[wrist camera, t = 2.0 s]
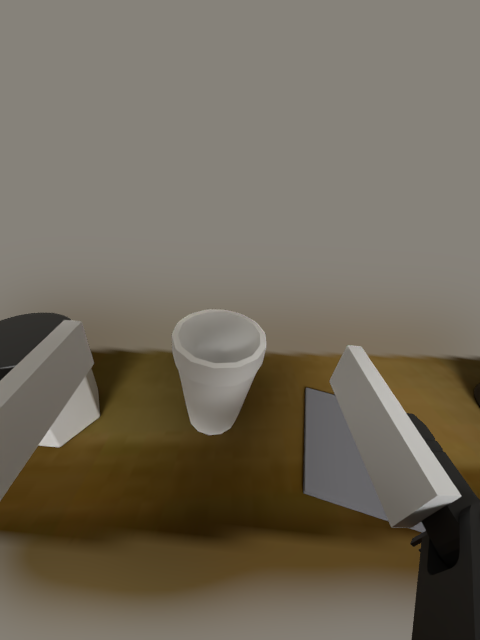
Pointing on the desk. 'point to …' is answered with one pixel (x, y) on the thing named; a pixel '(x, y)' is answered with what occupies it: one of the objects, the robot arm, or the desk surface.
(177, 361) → the foam cup
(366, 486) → the charcoal mat
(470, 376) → the desk surface
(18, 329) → the jar
